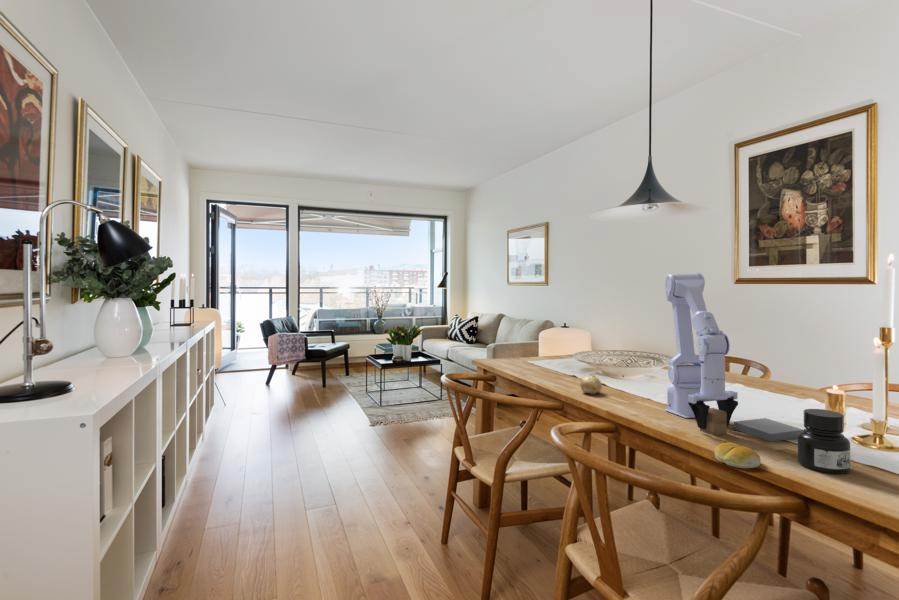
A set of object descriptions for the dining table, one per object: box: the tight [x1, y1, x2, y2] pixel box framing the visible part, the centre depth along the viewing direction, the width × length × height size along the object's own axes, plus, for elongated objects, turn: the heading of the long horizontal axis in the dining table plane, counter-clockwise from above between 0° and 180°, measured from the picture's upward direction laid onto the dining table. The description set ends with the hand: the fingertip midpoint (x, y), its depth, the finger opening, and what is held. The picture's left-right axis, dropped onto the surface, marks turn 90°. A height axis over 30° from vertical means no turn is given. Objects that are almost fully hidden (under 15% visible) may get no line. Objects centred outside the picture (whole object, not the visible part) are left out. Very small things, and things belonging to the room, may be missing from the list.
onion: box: [579, 373, 603, 395], centre depth 170 cm, size 8×8×7 cm
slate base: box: [733, 417, 804, 443], centre depth 122 cm, size 11×11×2 cm
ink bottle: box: [797, 408, 851, 475], centre depth 99 cm, size 10×9×12 cm
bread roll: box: [714, 442, 762, 469], centre depth 104 cm, size 8×9×4 cm
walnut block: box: [699, 407, 728, 436], centre depth 124 cm, size 4×4×6 cm
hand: (713, 426), depth 124 cm, fingers open, 7 cm apart
